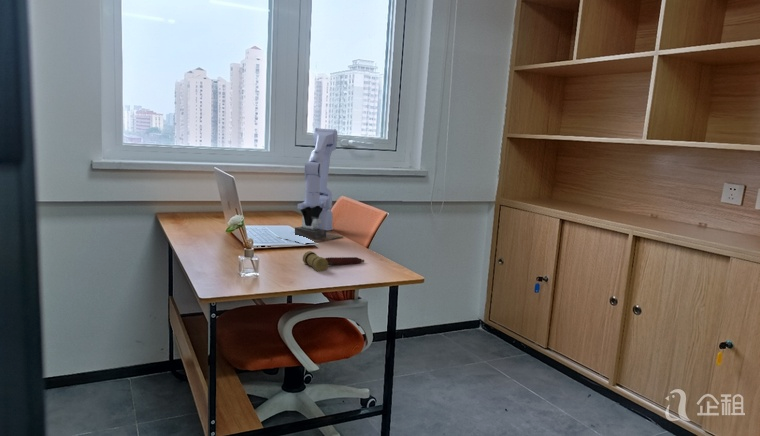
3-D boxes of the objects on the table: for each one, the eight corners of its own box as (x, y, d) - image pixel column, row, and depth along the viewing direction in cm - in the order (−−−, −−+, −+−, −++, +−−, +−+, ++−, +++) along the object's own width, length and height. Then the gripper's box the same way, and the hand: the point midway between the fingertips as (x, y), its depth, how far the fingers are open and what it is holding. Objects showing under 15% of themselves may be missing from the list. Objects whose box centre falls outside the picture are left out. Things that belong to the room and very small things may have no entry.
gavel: (357, 250, 191) (372, 257, 182) (356, 263, 191) (371, 271, 183) (303, 251, 179) (316, 258, 171) (301, 264, 180) (314, 272, 172)
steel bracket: (306, 232, 223) (307, 215, 222) (320, 235, 219) (321, 218, 218) (301, 233, 221) (302, 216, 220) (315, 236, 217) (316, 219, 215)
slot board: (315, 231, 234) (315, 222, 233) (343, 237, 224) (343, 229, 224) (276, 237, 216) (276, 228, 216) (304, 244, 207) (305, 235, 206)
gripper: (317, 189, 225) (315, 221, 228) (292, 191, 213) (291, 225, 216) (330, 191, 221) (328, 224, 224) (305, 194, 210) (304, 228, 212)
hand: (310, 225), depth 219 cm, fingers closed on steel bracket, 3 cm apart
